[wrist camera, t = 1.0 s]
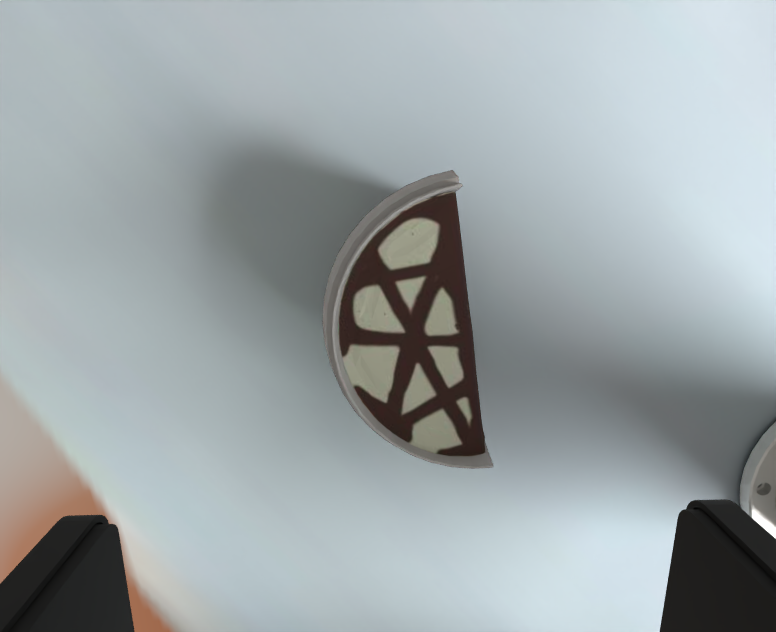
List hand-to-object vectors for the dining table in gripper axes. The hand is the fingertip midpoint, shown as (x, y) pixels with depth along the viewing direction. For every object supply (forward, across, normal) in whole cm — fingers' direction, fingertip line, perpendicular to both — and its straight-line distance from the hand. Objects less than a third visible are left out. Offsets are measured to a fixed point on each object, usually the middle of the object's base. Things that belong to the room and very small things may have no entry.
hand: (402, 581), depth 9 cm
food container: (+22, -1, 0) cm, 22 cm away
